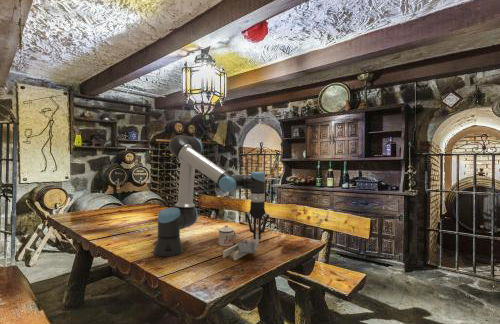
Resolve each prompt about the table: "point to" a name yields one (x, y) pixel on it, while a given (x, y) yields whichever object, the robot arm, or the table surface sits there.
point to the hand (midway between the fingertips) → (256, 245)
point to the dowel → (232, 254)
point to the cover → (247, 246)
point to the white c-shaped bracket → (232, 249)
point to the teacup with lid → (226, 236)
